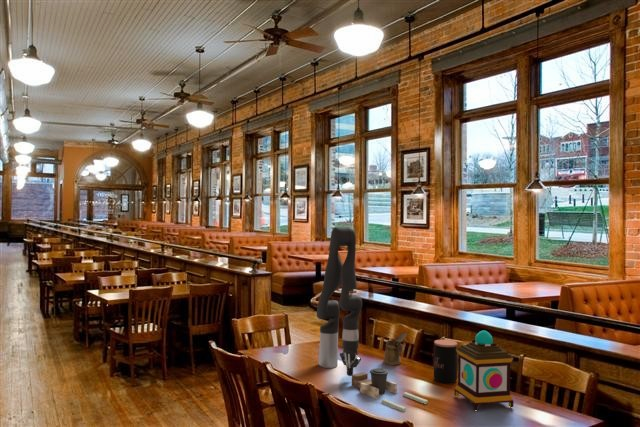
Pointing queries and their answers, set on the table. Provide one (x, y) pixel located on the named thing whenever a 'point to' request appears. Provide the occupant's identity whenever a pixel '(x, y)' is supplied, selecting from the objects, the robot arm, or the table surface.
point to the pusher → (360, 379)
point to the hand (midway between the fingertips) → (349, 375)
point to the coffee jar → (445, 361)
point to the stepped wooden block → (375, 391)
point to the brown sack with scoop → (394, 350)
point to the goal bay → (402, 406)
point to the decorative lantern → (484, 372)
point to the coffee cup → (379, 379)
